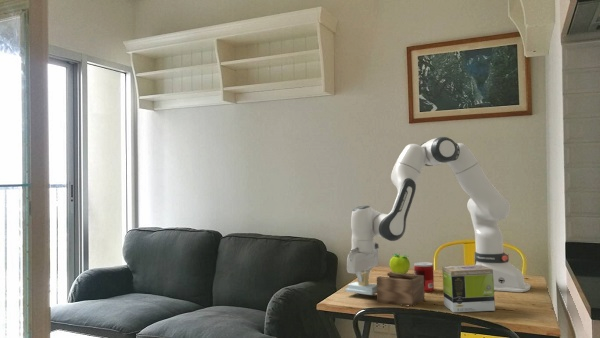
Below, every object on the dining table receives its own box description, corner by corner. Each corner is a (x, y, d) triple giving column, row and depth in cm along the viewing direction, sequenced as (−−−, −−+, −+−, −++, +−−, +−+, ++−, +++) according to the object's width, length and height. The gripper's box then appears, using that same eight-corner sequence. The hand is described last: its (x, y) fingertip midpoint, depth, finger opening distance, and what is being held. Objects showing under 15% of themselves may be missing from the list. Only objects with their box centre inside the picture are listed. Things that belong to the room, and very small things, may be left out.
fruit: (398, 272, 242) (397, 251, 242) (413, 274, 235) (412, 253, 235) (386, 274, 236) (385, 254, 236) (401, 277, 229) (400, 256, 229)
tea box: (483, 304, 179) (482, 263, 179) (495, 311, 169) (494, 269, 169) (443, 305, 179) (441, 265, 179) (452, 313, 168) (451, 270, 169)
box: (424, 299, 188) (423, 275, 188) (411, 306, 178) (411, 281, 178) (391, 295, 196) (390, 272, 196) (377, 301, 186) (376, 277, 186)
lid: (382, 290, 196) (381, 273, 197) (371, 295, 189) (371, 277, 189) (356, 287, 203) (355, 270, 204) (345, 291, 196) (344, 274, 196)
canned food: (434, 288, 206) (433, 262, 206) (433, 292, 198) (433, 265, 199) (415, 287, 208) (414, 261, 208) (414, 291, 200) (413, 265, 201)
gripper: (356, 250, 186) (357, 286, 186) (380, 243, 203) (381, 277, 203) (342, 249, 190) (343, 284, 190) (367, 242, 207) (368, 275, 206)
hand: (363, 280), depth 196 cm, fingers closed on lid, 3 cm apart
